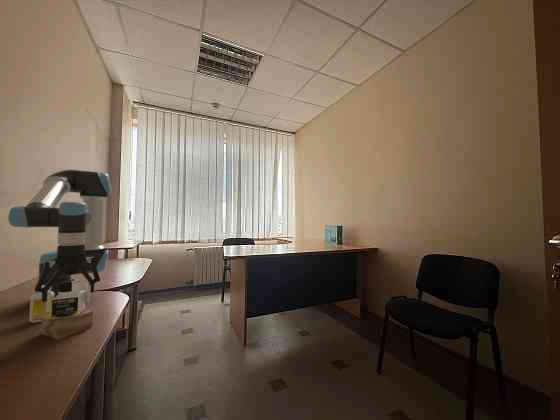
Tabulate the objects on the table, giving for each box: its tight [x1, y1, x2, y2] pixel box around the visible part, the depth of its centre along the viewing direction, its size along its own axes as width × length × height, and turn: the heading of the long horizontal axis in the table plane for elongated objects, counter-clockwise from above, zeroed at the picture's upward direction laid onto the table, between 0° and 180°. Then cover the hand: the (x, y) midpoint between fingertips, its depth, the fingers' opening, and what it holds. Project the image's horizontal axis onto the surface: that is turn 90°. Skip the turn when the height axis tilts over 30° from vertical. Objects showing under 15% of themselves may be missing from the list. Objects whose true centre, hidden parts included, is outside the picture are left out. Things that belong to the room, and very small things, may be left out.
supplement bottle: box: [28, 285, 54, 324], centre depth 89 cm, size 7×7×13 cm
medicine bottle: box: [51, 278, 86, 319], centre depth 82 cm, size 7×7×12 cm
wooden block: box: [40, 308, 94, 341], centre depth 81 cm, size 10×10×6 cm
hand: (68, 305), depth 82 cm, fingers open, 10 cm apart
